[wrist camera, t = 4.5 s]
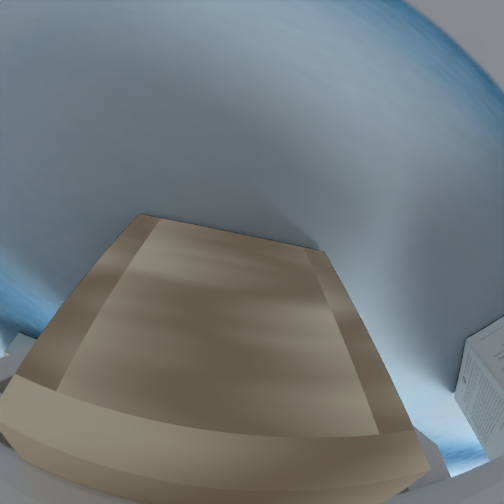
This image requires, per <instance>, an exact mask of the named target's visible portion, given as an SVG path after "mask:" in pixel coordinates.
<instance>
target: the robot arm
mask: <svg viewBox="0 0 504 504" xmlns="http://www.w3.org/2000/svg"><path fill="white" fill-rule="evenodd" d="M31 348H32V345H29V346H27V347H25V348H23V349H20V350H18V351H16V352H14V353H11V354H9V355H7V356H4V357H2V358H0V397H1V396H2V394H3V392H4V390H5V389H6V387H7V385H8V384H9V382H10V380H11V379H12V377H13V376H14V374H15V372H16V371H17V369H18V368H19V366H20V364H21V363H22V361H23V360H24V358H25V357H26V355H27V354H28V352H29V351H30V349H31ZM413 428H414V430H415V432H416V435H417V437H418V439H419V442H420V444H421V447H422V449H423V451H424V454H425V456H426V459H427V461H428V464H429V466H430V469H431V470H430V471H428V472H427V473H426V474H425V475H423V476H422V477H421V478H419V479H418V480H417V481H415V482H414V483H413V484H411V485H410V486H408V487H407V488H406V489H404V490H403V491H401V492H400V493H398V494H397V495H395V496H394V497H392V498H391V499H389V500H388V501H386V502H383V503H379V504H504V455H502V456H500V457H498V458H496V459H494V460H492V461H489V462H487V463H485V464H483V465H481V466H478V467H476V468H474V469H472V470H469V471H467V472H464V473H462V474H459V475H457V476H454V477H451V476H450V474H449V471H448V469H447V467H446V464H445V462H444V460H443V457H442V455H441V453H440V450H439V448H438V446H437V445H436V444H435V443H434V442H433V441H431V440H430V439H429V438H428V437H426V436H425V435H424V434H423V433H421V432H420V431H419V430H418V429H416V428H415V427H414V426H413ZM0 504H146V503H142V502H138V501H134V500H129V499H126V498H122V497H118V496H115V495H111V494H108V493H104V492H101V491H98V490H95V489H92V488H89V487H86V486H83V485H80V484H78V483H75V482H72V481H70V480H67V479H64V478H62V477H60V476H57V475H55V474H52V473H50V472H48V471H45V470H43V469H41V468H39V467H37V466H35V465H33V464H30V463H28V462H26V461H24V460H22V459H21V458H20V456H19V455H18V454H17V453H16V451H15V450H14V449H13V447H12V446H11V445H10V444H9V442H8V441H7V440H6V438H5V437H4V435H3V434H2V433H1V431H0Z"/></svg>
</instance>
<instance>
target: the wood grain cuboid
mask: <svg viewBox="0 0 504 504" xmlns="http://www.w3.org/2000/svg"><path fill="white" fill-rule="evenodd" d="M0 431H1V433H2V434H3V435H4V437H5V438H6V440H7V441H8V442H9V444H10V445H11V446H12V447H13V449H14V450H15V451H16V453H17V454H18V455H19V456H20V458H21V459H22V460H24V461H26V462H28V463H30V464H33V465H35V466H37V467H39V468H41V469H43V470H45V471H48V472H50V473H52V474H55V475H57V476H60V477H62V478H64V479H67V480H70V481H72V482H75V483H78V484H80V485H83V486H86V487H89V488H92V489H95V490H98V491H101V492H104V493H108V494H111V495H115V496H118V497H122V498H126V499H129V500H134V501H138V502H142V503H146V504H379V503H383V502H386V501H388V500H389V499H391V498H392V497H394V496H395V495H397V494H398V493H400V492H401V491H403V490H404V489H406V488H407V487H408V486H410V485H411V484H413V483H414V482H415V481H417V480H418V479H419V478H421V477H422V476H423V475H425V474H426V473H427V472H428V471H430V470H431V469H430V466H429V464H428V461H427V459H426V456H425V454H424V451H423V449H422V447H421V444H420V442H419V439H418V437H417V435H416V432H415V430H414V428H413V425H412V423H411V421H410V419H409V416H408V414H407V412H406V410H405V407H404V405H403V403H402V401H401V399H400V397H399V394H398V392H397V390H396V388H395V386H394V384H393V382H392V379H391V377H390V375H389V373H388V371H387V369H386V367H385V365H384V363H383V361H382V359H381V357H380V355H379V353H378V351H377V349H376V347H375V345H374V343H373V341H372V339H371V337H370V335H369V333H368V331H367V329H366V327H365V325H364V323H363V321H362V319H361V318H360V316H359V314H358V312H357V310H356V308H355V306H354V304H353V303H352V301H351V299H350V297H349V295H348V293H347V291H346V290H345V288H344V286H343V284H342V282H341V280H340V279H339V277H338V275H337V273H336V271H335V270H334V268H333V266H332V264H331V263H330V261H329V259H328V257H327V256H326V254H325V252H323V251H319V250H314V249H309V248H305V247H300V246H295V245H291V244H286V243H281V242H276V241H272V240H267V239H262V238H257V237H252V236H248V235H243V234H238V233H233V232H228V231H223V230H218V229H213V228H208V227H203V226H198V225H193V224H188V223H183V222H178V221H173V220H168V219H163V218H158V217H153V216H147V215H142V214H139V215H138V216H137V217H136V218H135V219H134V220H133V221H132V222H131V223H130V225H129V226H128V227H127V228H126V229H125V230H124V231H123V232H122V233H121V234H120V236H119V237H118V238H117V239H116V240H115V241H114V242H113V243H112V245H111V246H110V247H109V248H108V249H107V250H106V251H105V253H104V254H103V255H102V256H101V257H100V258H99V260H98V261H97V262H96V263H95V264H94V266H93V267H92V268H91V269H90V270H89V272H88V273H87V274H86V275H85V277H84V278H83V279H82V280H81V281H80V283H79V284H78V285H77V286H76V288H75V289H74V290H73V292H72V293H71V294H70V295H69V297H68V298H67V299H66V301H65V302H64V303H63V304H62V306H61V307H60V308H59V310H58V311H57V312H56V314H55V315H54V317H53V318H52V319H51V321H50V322H49V323H48V325H47V326H46V328H45V329H44V330H43V332H42V333H41V335H40V336H39V338H38V339H37V340H36V342H35V343H34V345H33V346H32V348H31V349H30V351H29V352H28V354H27V355H26V357H25V358H24V360H23V361H22V363H21V364H20V366H19V368H18V369H17V371H16V372H15V374H14V376H13V377H12V379H11V380H10V382H9V384H8V385H7V387H6V389H5V390H4V392H3V394H2V396H1V397H0Z"/></svg>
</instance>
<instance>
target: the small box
mask: <svg viewBox="0 0 504 504" xmlns="http://www.w3.org/2000/svg"><path fill="white" fill-rule="evenodd" d="M454 398H455V400H456V402H457V403H458V405H459V406H460V408H461V410H462V412H463V413H464V415H465V417H466V419H467V420H468V422H469V424H470V426H471V427H472V429H473V431H474V433H475V434H476V436H477V438H478V440H479V442H480V444H481V445H482V447H483V449H484V451H485V453H486V455H487V457H488V459H489V461H492V460H494V459H496V458H498V457H500V456H502V455H504V316H503V317H502V318H500V319H498V320H497V321H495V322H494V323H492V324H490V325H489V326H487V327H486V328H484V329H482V330H481V331H479V332H477V333H476V334H474V335H472V336H470V337H469V338H467V339H466V341H465V347H464V353H463V358H462V363H461V368H460V373H459V378H458V382H457V386H456V390H455V394H454Z"/></svg>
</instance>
